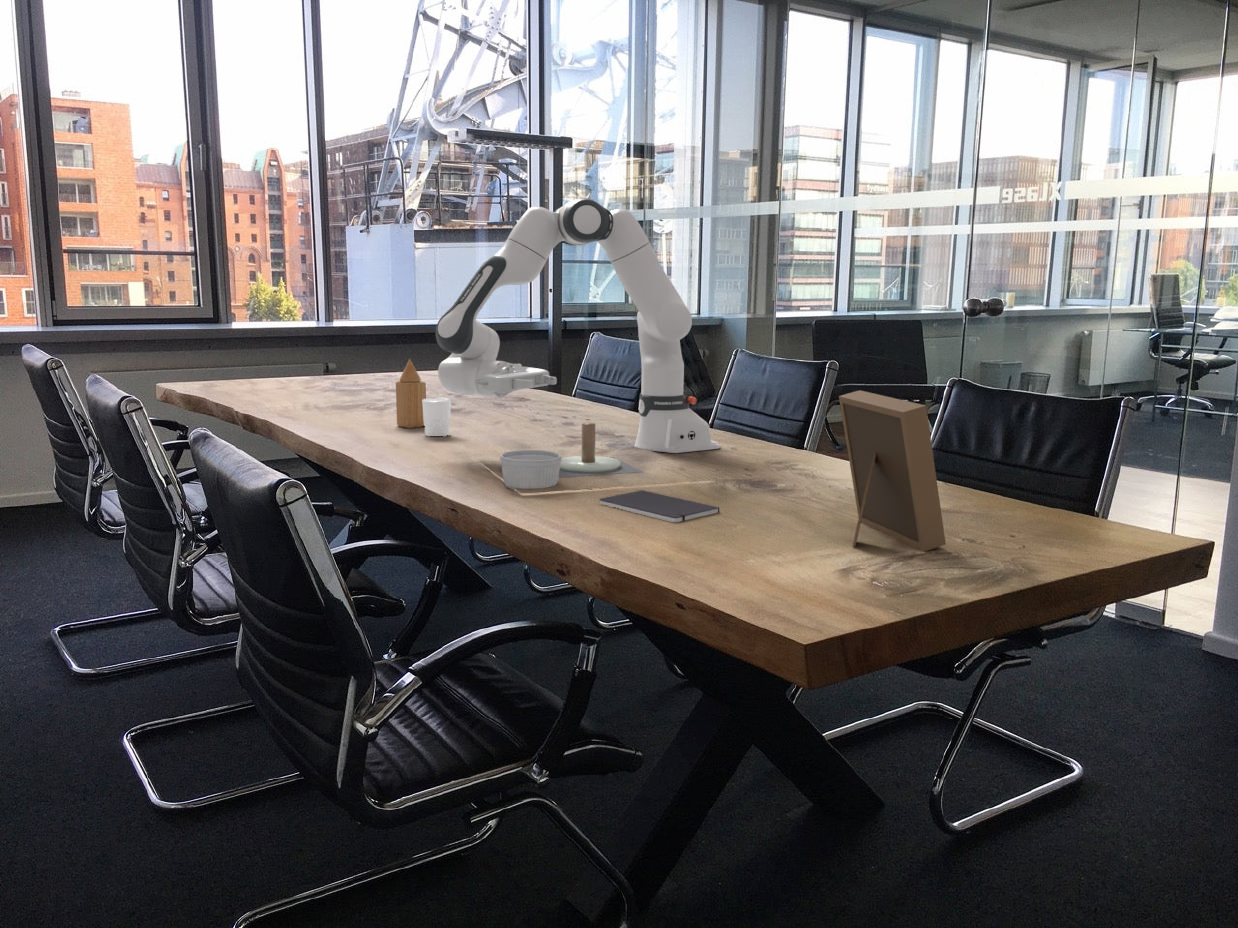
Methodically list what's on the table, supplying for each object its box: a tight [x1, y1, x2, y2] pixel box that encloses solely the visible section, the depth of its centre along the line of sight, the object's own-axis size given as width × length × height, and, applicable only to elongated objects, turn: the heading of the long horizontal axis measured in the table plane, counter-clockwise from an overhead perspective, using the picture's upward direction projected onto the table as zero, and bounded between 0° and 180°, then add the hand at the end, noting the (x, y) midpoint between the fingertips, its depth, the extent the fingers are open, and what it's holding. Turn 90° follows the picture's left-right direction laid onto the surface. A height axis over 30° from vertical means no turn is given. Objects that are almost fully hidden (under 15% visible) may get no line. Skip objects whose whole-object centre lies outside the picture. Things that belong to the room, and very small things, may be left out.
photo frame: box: [838, 389, 947, 552], centre depth 184 cm, size 15×22×25 cm
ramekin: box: [499, 449, 562, 491], centre depth 225 cm, size 13×13×7 cm
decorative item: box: [395, 358, 427, 429], centre depth 305 cm, size 7×7×20 cm
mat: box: [558, 456, 644, 478], centre depth 245 cm, size 20×20×1 cm
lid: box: [560, 422, 621, 473], centre depth 244 cm, size 15×15×10 cm
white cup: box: [422, 397, 452, 437], centre depth 291 cm, size 8×8×10 cm
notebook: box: [599, 489, 720, 523], centre depth 206 cm, size 13×2×21 cm
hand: (544, 382), depth 247 cm, fingers open, 8 cm apart
